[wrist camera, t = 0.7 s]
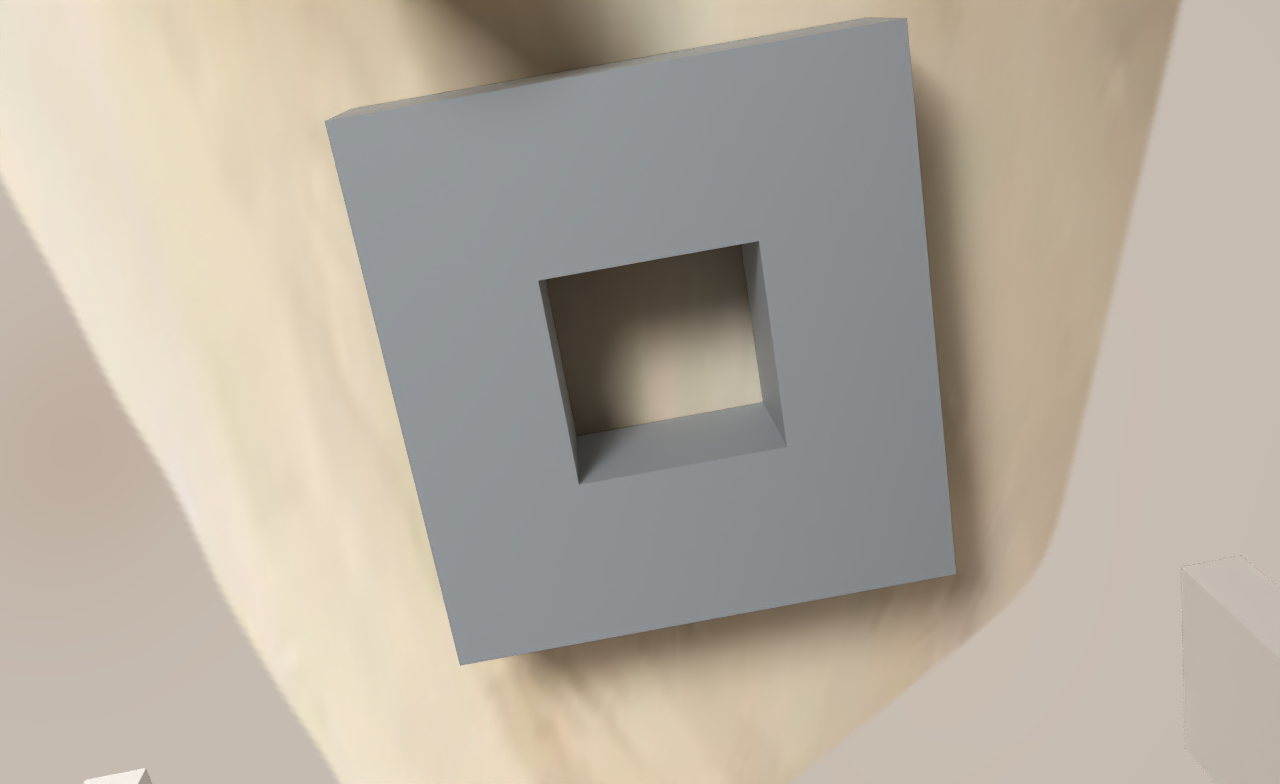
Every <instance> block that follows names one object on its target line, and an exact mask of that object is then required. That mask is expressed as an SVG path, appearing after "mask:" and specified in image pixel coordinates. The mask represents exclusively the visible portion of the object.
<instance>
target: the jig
mask: <svg viewBox="0 0 1280 784" xmlns="http://www.w3.org/2000/svg"><path fill="white" fill-rule="evenodd" d="M325 124H326V128H327V132H328V136H329V140H330V144H331V148H332V152H333V157H334V161H335V165H336V169H337V173H338V177H339V181H340V185H341V189H342V193H343V197H344V201H345V205H346V209H347V213H348V217H349V221H350V225H351V229H352V233H353V237H354V241H355V245H356V249H357V253H358V257H359V261H360V265H361V269H362V273H363V277H364V281H365V285H366V289H367V293H368V297H369V301H370V305H371V309H372V313H373V317H374V321H375V325H376V329H377V333H378V337H379V341H380V345H381V349H382V354H383V358H384V362H385V366H386V370H387V374H388V378H389V382H390V386H391V390H392V394H393V398H394V402H395V406H396V410H397V414H398V418H399V422H400V426H401V430H402V434H403V438H404V442H405V446H406V450H407V454H408V458H409V462H410V466H411V470H412V474H413V478H414V482H415V486H416V490H417V494H418V498H419V502H420V506H421V510H422V514H423V518H424V522H425V526H426V530H427V534H428V538H429V542H430V547H431V551H432V555H433V559H434V563H435V567H436V571H437V575H438V579H439V583H440V587H441V591H442V595H443V599H444V603H445V607H446V611H447V615H448V619H449V623H450V627H451V631H452V635H453V639H454V643H455V647H456V651H457V655H458V659H459V663H460V665H466V664H471V663H476V662H482V661H487V660H493V659H498V658H504V657H509V656H514V655H520V654H525V653H531V652H536V651H542V650H547V649H553V648H558V647H563V646H569V645H574V644H580V643H585V642H591V641H596V640H601V639H607V638H612V637H618V636H623V635H629V634H634V633H640V632H645V631H650V630H656V629H661V628H667V627H672V626H678V625H683V624H688V623H694V622H699V621H705V620H710V619H716V618H721V617H727V616H732V615H737V614H743V613H748V612H754V611H759V610H765V609H770V608H775V607H781V606H786V605H792V604H797V603H803V602H808V601H814V600H819V599H824V598H830V597H835V596H841V595H846V594H852V593H857V592H862V591H868V590H873V589H879V588H884V587H890V586H895V585H901V584H906V583H911V582H917V581H922V580H928V579H933V578H939V577H944V576H949V575H955V574H956V566H955V555H954V544H953V532H952V521H951V510H950V499H949V487H948V476H947V465H946V454H945V442H944V431H943V420H942V409H941V397H940V386H939V375H938V364H937V352H936V341H935V330H934V319H933V307H932V296H931V285H930V274H929V262H928V251H927V240H926V229H925V217H924V206H923V195H922V184H921V172H920V161H919V150H918V139H917V127H916V116H915V105H914V94H913V82H912V71H911V60H910V49H909V37H908V26H907V18H862V19H857V20H851V21H845V22H840V23H834V24H828V25H823V26H817V27H811V28H806V29H800V30H795V31H789V32H783V33H778V34H772V35H766V36H761V37H755V38H749V39H744V40H738V41H732V42H727V43H721V44H715V45H710V46H704V47H699V48H693V49H687V50H682V51H676V52H670V53H665V54H659V55H653V56H648V57H642V58H636V59H631V60H625V61H619V62H614V63H608V64H603V65H597V66H591V67H586V68H580V69H574V70H569V71H563V72H557V73H552V74H546V75H540V76H535V77H529V78H523V79H518V80H512V81H507V82H501V83H495V84H490V85H484V86H478V87H473V88H467V89H461V90H456V91H450V92H444V93H439V94H433V95H427V96H422V97H416V98H411V99H405V100H399V101H394V102H388V103H382V104H377V105H371V106H365V107H360V108H354V109H350V110H348V111H346V112H344V113H342V114H339V115H337V116H335V117H333V118H331V119H329V120H326V121H325ZM739 244H741V249H742V256H743V263H744V270H745V277H746V284H747V291H748V298H749V306H750V313H751V320H752V327H753V334H754V341H755V348H756V355H757V362H758V369H759V377H760V384H761V391H762V398H763V402H762V403H757V404H751V405H746V406H740V407H735V408H729V409H724V410H718V411H713V412H707V413H702V414H696V415H691V416H685V417H680V418H674V419H669V420H663V421H658V422H652V423H647V424H641V425H636V426H630V427H625V428H619V429H614V430H608V431H603V432H597V433H592V434H586V435H581V436H576V431H575V426H574V421H573V416H572V411H571V405H570V400H569V395H568V390H567V385H566V380H565V375H564V370H563V365H562V360H561V355H560V350H559V345H558V340H557V335H556V329H555V324H554V319H553V314H552V309H551V304H550V299H549V294H548V289H547V284H546V279H550V278H555V277H561V276H567V275H572V274H578V273H583V272H589V271H594V270H600V269H606V268H611V267H617V266H622V265H628V264H633V263H639V262H645V261H650V260H656V259H661V258H667V257H672V256H678V255H684V254H689V253H695V252H700V251H706V250H711V249H717V248H723V247H728V246H734V245H739Z"/></svg>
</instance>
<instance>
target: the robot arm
mask: <svg viewBox="0 0 1280 784" xmlns="http://www.w3.org/2000/svg"><path fill="white" fill-rule="evenodd" d="M1181 590H1182V633H1183V634H1182V636H1183V637H1182V639H1183V687H1184V735H1185V749H1186V750H1187V752H1188V753H1189V754H1190V755H1191V756H1192V758H1193V759H1194V760H1195V761H1196V762H1197V764H1198V765H1199V766H1200V767H1201V768H1202V770H1203V771H1204V772H1205V773H1206V774H1207V776H1208V777H1209V778H1210V779H1211V780H1212V782H1213V783H1214V784H1280V587H1279V586H1277V585H1276V584H1275V583H1274V582H1273V581H1271V580H1270V579H1269V578H1268V577H1266V576H1265V575H1264V574H1263V573H1262V572H1260V571H1259V570H1258V569H1257V568H1255V567H1254V566H1253V565H1252V564H1251V563H1250V562H1248V561H1247V560H1246V559H1245V558H1243V557H1242V556H1235V557H1230V558H1225V559H1220V560H1215V561H1210V562H1204V563H1199V564H1194V565H1189V566H1184V567H1181ZM83 784H152V782H151V780H150V777H149V775H148V772H147V769H146V768H145V769H139V770H134V771H129V772H123V773H118V774H113V775H109V776H103V777H98V778H93V779H88V780H85V781H84V783H83Z"/></svg>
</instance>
